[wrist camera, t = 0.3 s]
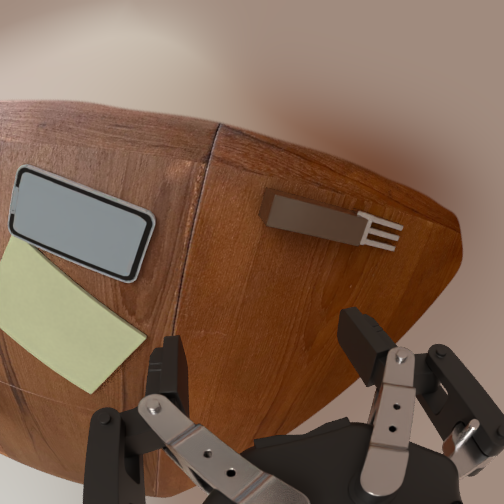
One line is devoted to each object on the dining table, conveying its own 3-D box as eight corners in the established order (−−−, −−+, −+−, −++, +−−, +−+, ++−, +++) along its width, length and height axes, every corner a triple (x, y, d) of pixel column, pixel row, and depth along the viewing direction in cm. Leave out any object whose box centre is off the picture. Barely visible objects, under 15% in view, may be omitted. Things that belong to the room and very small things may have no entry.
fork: (257, 218, 26) (265, 229, 23) (266, 183, 25) (276, 190, 22) (388, 249, 30) (405, 260, 27) (398, 222, 29) (416, 231, 26)
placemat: (-15, 309, 24) (-17, 312, 23) (16, 228, 22) (14, 229, 21) (91, 391, 31) (91, 394, 30) (146, 335, 29) (146, 338, 28)
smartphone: (134, 286, 26) (6, 233, 21) (135, 282, 27) (10, 230, 22) (158, 215, 24) (18, 161, 19) (159, 212, 25) (23, 160, 20)
